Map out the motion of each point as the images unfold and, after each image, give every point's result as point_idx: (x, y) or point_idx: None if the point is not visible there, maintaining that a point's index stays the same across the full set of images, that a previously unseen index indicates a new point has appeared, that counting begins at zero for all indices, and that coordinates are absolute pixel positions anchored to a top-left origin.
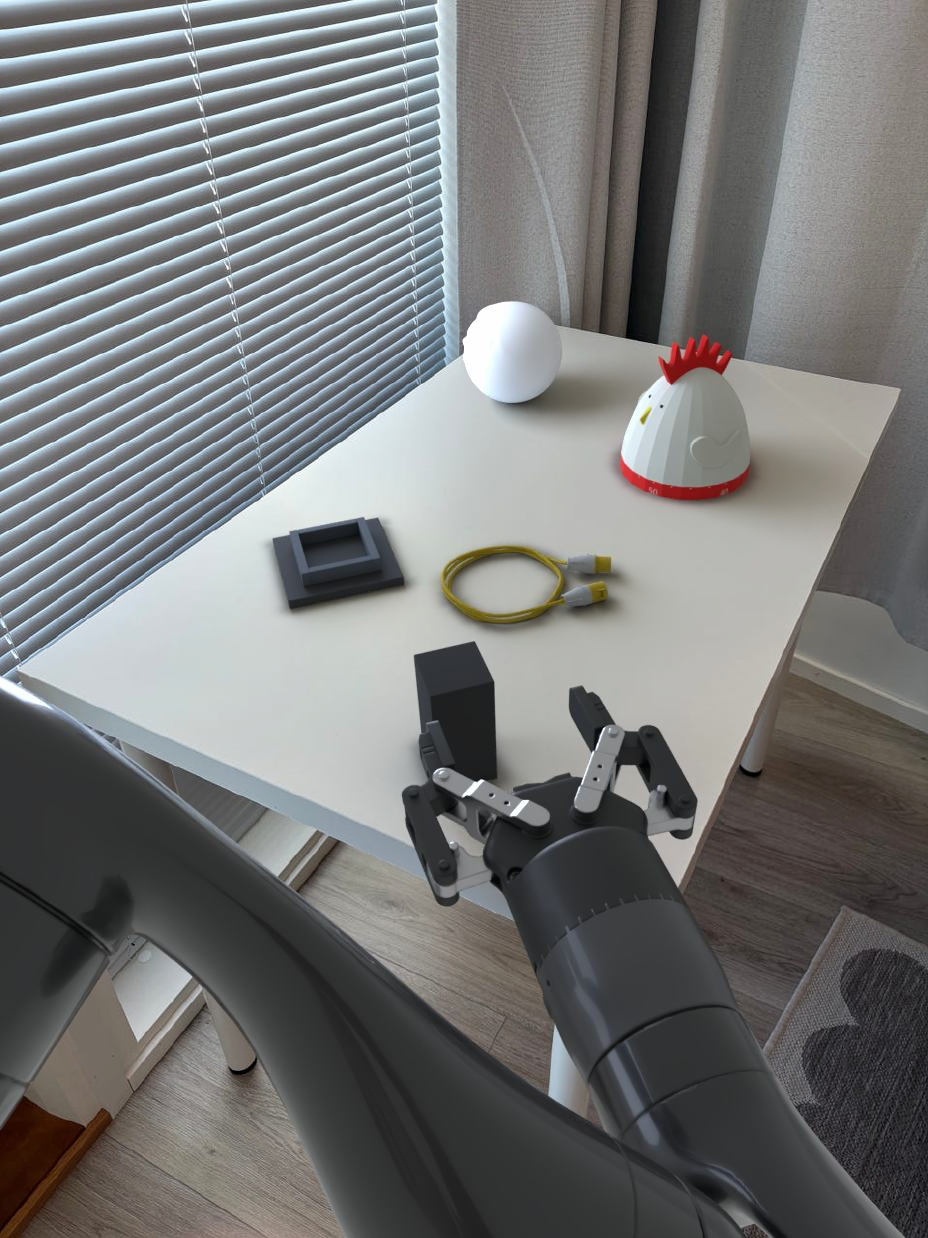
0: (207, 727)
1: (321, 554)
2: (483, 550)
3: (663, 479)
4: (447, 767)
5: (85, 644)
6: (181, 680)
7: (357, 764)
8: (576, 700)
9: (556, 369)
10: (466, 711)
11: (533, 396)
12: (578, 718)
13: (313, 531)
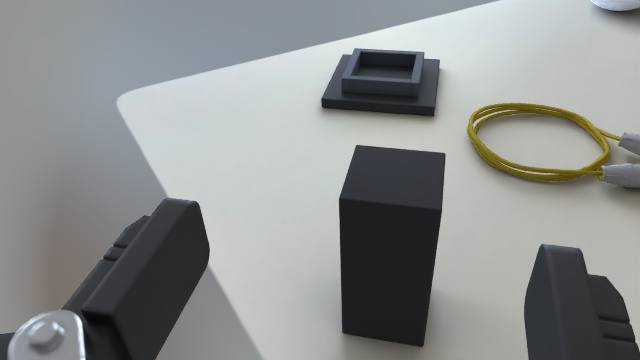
0: (185, 175)
1: (373, 73)
2: (527, 106)
3: None
4: (94, 315)
5: (160, 89)
6: (198, 133)
7: (281, 260)
8: (546, 281)
9: None
10: (391, 240)
11: (635, 4)
12: (537, 332)
13: (374, 52)
